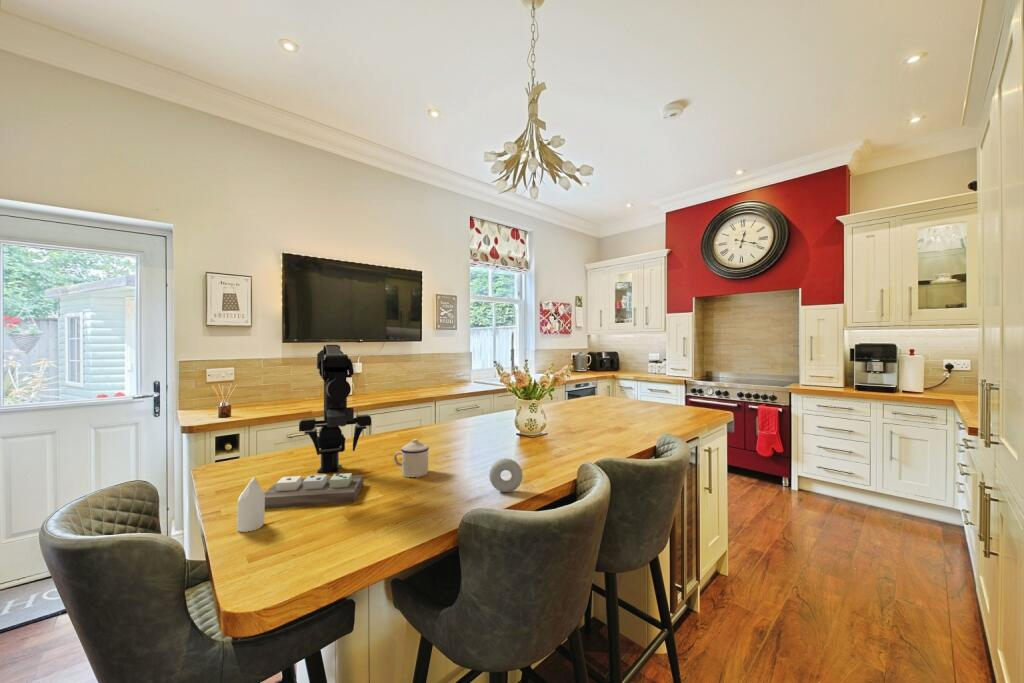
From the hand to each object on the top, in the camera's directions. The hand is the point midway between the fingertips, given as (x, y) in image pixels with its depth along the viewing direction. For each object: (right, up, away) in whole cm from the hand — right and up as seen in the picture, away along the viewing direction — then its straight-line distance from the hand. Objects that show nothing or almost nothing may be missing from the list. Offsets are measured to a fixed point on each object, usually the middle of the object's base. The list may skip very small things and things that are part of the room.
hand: (336, 452), depth 113 cm
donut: (+49, -13, +5) cm, 51 cm away
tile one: (-13, -11, 0) cm, 17 cm away
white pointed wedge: (-13, -13, -18) cm, 25 cm away
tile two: (-7, -11, +1) cm, 12 cm away
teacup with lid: (+16, -13, +21) cm, 29 cm away
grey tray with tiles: (-7, -13, +1) cm, 14 cm away
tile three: (0, -11, +2) cm, 11 cm away
